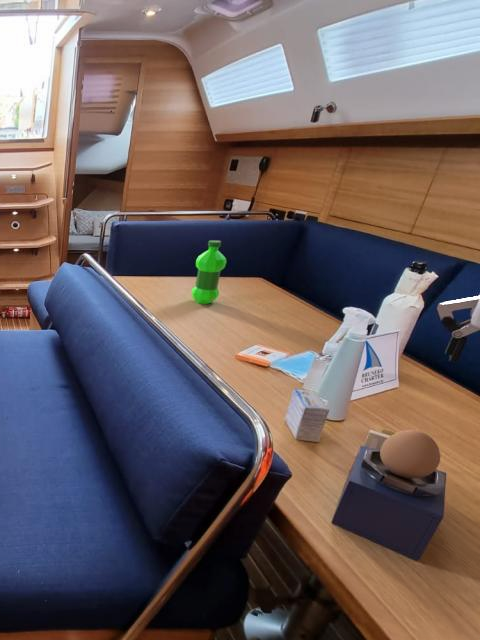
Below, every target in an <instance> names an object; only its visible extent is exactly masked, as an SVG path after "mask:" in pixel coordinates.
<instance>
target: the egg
mask: <svg viewBox="0 0 480 640" xmlns="http://www.w3.org/2000/svg"><path fill="white" fill-rule="evenodd" d="M396 432H397V433H395V434H393V435H391V436H390V437H388V438H387V439H386V440H385V442H384V443H383V445H382V447H381V450H380V456H381V459H382V462H383V463H384V465H385V466H386V467H387V468H388V469H389V470H390V471H391V472H392V473H394V474H396V475H398V476H401V477H405V478H421V477H425V476H428V475H430V474H431V473H433V472H434V471H435V470H436V469H438V467H439V465H440V463H441V455H440V451H441V450H440V448H439V445H438V443H437V442H436V441H435V440H434V439H433V437H432V436H430V435H429V434H428V433H426V432H423V431H421V430H416V429H405V430H399V431H396Z"/></svg>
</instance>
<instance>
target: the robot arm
mask: <svg viewBox="0 0 480 640" xmlns="http://www.w3.org/2000/svg"><path fill="white" fill-rule="evenodd" d="M465 309H471V310H470V314H469V317H470V318H469V319H466V320H465V321H463V322H459V321H457V319H456V318H455V317H454V315H453V312H454V311H460V310H465ZM436 310H437V313H438V316H439V319H440V321H441V322H440V323H441V325H443V327H444V328H445V329H446V330H447V331H448V332H449V333H450V334H451V338H450V340H449V342H448V344H447V347H446V348H445V352H444V355H447V356H449V359H448V362H449V363H451V364H455V363H458V361H459V358H460V356H461V354H462V353H463V350H464V348H465V346H466V344H467V342H468V335H471V334H473V333H477V332H478V331H480V293H479V295H478V296H477V295H476V296H473V297H466V298H461V299H456V300H455V299H454V300H448V301H443V302H439V303H438V304H437V305H436Z"/></svg>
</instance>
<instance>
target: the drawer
mask: <svg viewBox="0 0 480 640" xmlns="http://www.w3.org/2000/svg"><path fill="white" fill-rule="evenodd" d="M397 432H398V431H395V430H392V429H387V428H385V427H382V428H381V430H380V432H379V431H376V430H373V429H369V431H368V434H367V436H366V438H365V442H364V444H363V445H364V446H367V447H370V448H381V447H382V445H383V443H384V442H385V440H386V439H387V438H388V437H390V436H391V435H393V434H395V433H397ZM439 451H440V456H441V455H442V454H441V453H442V451H441V450H439Z"/></svg>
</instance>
